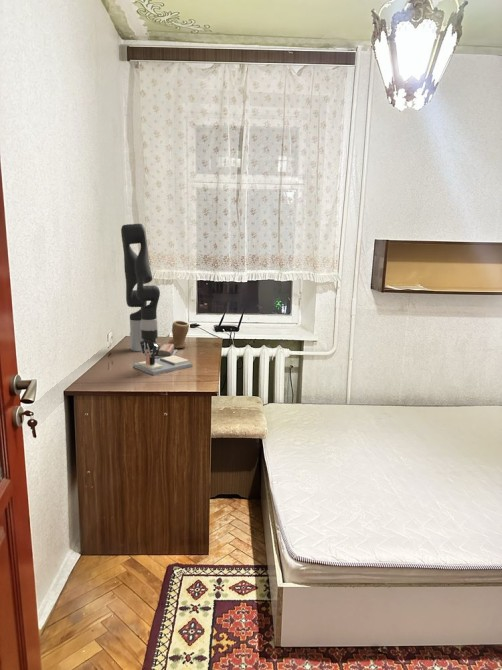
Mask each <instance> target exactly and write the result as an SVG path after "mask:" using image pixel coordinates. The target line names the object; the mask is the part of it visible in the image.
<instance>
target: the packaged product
mask: <svg viewBox="0 0 502 670" xmlns="http://www.w3.org/2000/svg"><path fill="white" fill-rule="evenodd" d="M177 352H178V348H174V344H168V343H163V344H162V345H161V346H160V348H159V352H158V356H156V357H155V359H160V358H164V357H169V356H174V355H175V356H176V354H177Z"/></svg>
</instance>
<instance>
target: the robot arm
mask: <svg viewBox="0 0 502 670" xmlns="http://www.w3.org/2000/svg"><path fill="white" fill-rule="evenodd" d="M120 233H121V235H120V236H121V242H122V248H123V262H124V265H123V267H124V274H125V300H126V305H127V306H128V307H129V308H140V309H139V310H137V311H135V312H132V313H130V314H129V328H130V329H129V331H130V332H129V343H130V344H129V345H130V347H129V348H130V350H131V351H133V352H142V355H143V354H144V356H145V357H146V354H147V353H149V354H150V365H154V364H155V357H156V356H158V352H159V349H160V347H161V346H160V345H159V344H158V345H157V341H156V340H157V339H158V337H159V336H158V335H159V334H158V331H159V330H158V319H157V318H158V317H157V308H158V303H159V300H160V296H161V291H160V288H159V287H158V285H145V284H148V283H150V282H152V280H153V274H152V270H151V265H150V257H149V248H148V239H147V233H146V228H145V226H144V224H142V223H132V224H131V223H130V224H127V223H126V224H123V225H121V228H120ZM134 244H135V245H136V244H140V249H139V252H138V254H137V253H136V252H135V251H134V250H133V248H132V247H131V245H134ZM135 286H136V290H135V289H134V288H135ZM148 302H149V304H147V303H148Z"/></svg>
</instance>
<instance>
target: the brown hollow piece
mask: <svg viewBox="0 0 502 670" xmlns="http://www.w3.org/2000/svg"><path fill="white" fill-rule="evenodd" d="M171 327H172V328H171V333H172V338H170V339H168V343H167V344H174V349H182V348H183V349H184V348H185V347H186V346H187V345H186V341H185V340H186V337H187V336H188V333H189V330H190V329H189V328H190V324H189V323H188V322H186V321H183V320H174V321H173V322H172V326H171Z"/></svg>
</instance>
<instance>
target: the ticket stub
mask: <svg viewBox="0 0 502 670" xmlns="http://www.w3.org/2000/svg"><path fill="white" fill-rule="evenodd" d="M137 363H138V364H139V365H141V366H144V367H146V368H149V369H151V370H154V369H158V368H163V366H162V365H160V364H157V363H155V364H154V365H150V354H149V353H147V354H146V356H145V360H144V361H139V362H137Z"/></svg>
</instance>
